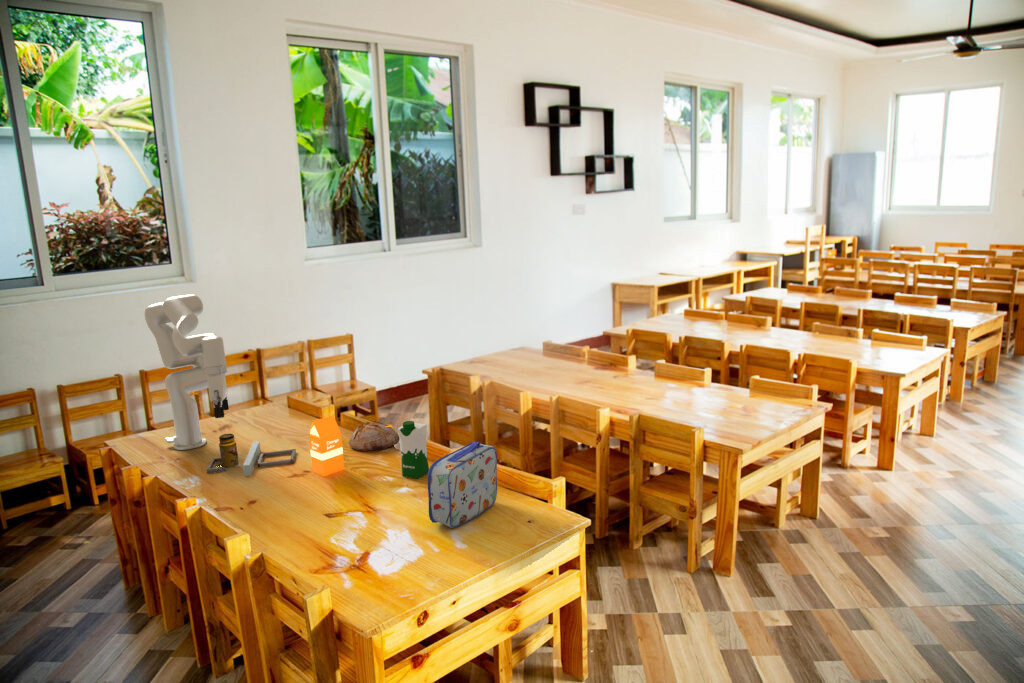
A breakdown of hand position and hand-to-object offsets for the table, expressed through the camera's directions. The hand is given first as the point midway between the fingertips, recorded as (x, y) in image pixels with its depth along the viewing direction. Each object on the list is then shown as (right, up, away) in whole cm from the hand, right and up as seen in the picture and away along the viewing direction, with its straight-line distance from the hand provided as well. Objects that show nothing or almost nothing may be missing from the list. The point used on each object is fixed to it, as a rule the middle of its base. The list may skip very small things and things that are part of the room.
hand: (222, 413), depth 268 cm
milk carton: (+74, -20, -13) cm, 78 cm away
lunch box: (+95, -27, -46) cm, 108 cm away
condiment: (+1, -20, +4) cm, 21 cm away
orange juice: (+41, -20, -5) cm, 46 cm away
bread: (+54, -15, +19) cm, 59 cm away
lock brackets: (+9, -19, +6) cm, 22 cm away
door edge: (+9, -19, +6) cm, 22 cm away
